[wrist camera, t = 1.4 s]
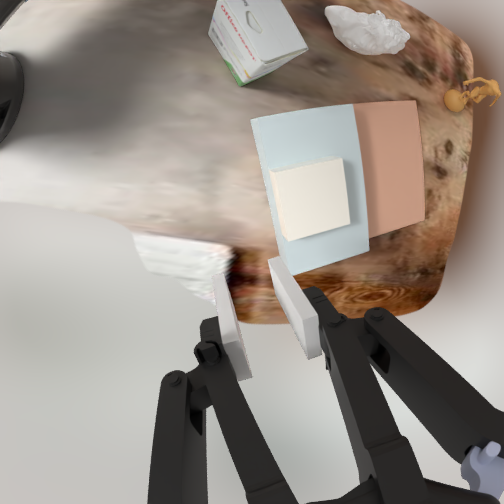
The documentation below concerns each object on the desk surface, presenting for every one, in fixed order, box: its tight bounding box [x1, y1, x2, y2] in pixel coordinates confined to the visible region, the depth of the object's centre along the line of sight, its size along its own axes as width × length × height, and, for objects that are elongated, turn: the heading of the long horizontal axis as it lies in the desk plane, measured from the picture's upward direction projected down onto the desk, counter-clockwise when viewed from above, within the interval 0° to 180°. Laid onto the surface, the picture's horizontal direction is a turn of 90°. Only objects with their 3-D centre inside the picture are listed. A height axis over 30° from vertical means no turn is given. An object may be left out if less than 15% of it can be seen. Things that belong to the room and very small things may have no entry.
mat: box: [353, 100, 425, 238], centre depth 38 cm, size 20×14×1 cm
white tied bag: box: [325, 6, 410, 55], centre depth 26 cm, size 12×8×11 cm
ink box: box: [208, 0, 309, 86], centre depth 24 cm, size 9×5×12 cm, turn 28°
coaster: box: [269, 156, 350, 242], centre depth 33 cm, size 8×8×2 cm
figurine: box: [444, 77, 501, 112], centre depth 30 cm, size 8×6×12 cm
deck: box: [250, 104, 369, 276], centre depth 36 cm, size 20×12×4 cm, turn 13°
